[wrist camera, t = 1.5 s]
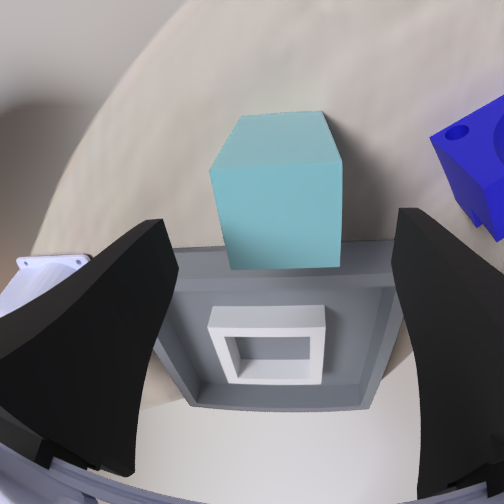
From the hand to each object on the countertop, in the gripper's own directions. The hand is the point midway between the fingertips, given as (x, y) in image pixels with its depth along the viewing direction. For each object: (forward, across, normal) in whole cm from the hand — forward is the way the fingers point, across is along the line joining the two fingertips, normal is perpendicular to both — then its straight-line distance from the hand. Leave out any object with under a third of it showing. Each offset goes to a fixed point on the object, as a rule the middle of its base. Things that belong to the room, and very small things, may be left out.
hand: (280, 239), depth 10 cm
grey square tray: (+8, +2, +15) cm, 17 cm away
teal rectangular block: (+8, 0, 0) cm, 8 cm away
